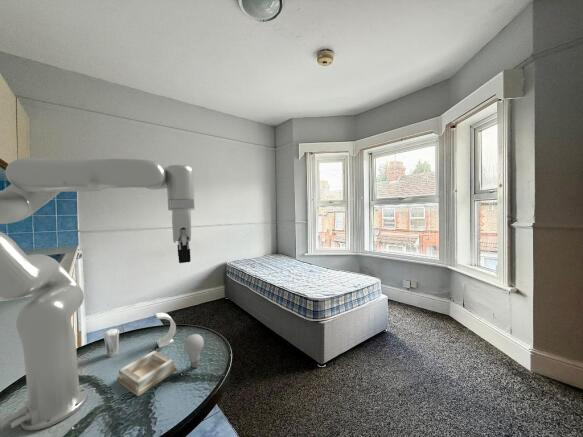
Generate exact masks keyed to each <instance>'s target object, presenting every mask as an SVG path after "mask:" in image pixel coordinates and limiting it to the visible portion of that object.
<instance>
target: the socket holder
mask: <svg viewBox="0 0 583 437" xmlns="http://www.w3.org/2000/svg"><path fill="white" fill-rule="evenodd" d="M176 371H177V367H176V366H175V360H174V359H172V358H170V357H167V356H166V355H163V354H162V353H160V352H158V351H156V350H153V351H151V352H149V353H147V354H145V355H143V356H141V357H140V358H138V359H137V360H134V361H132V362H130V363H129V364H127V365H125V366H123V367H122V368H120V369H118V374H119V375H118V377H116V381H117V382H118V383H119V384H120V385H122V387H124V388H126V389H127V390H128V391H130V392H131V393H133V394H134V395H135V396H137V397H139V396H141V395H142V394H144V393H145V392H147V391H148V390H149V389H151V388H153V387H155V385H157V384H159V383H160V382H162V381H163V380H164V379H166V378H167V377H170V375H172V374H173V373H174V372H176Z"/></svg>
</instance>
